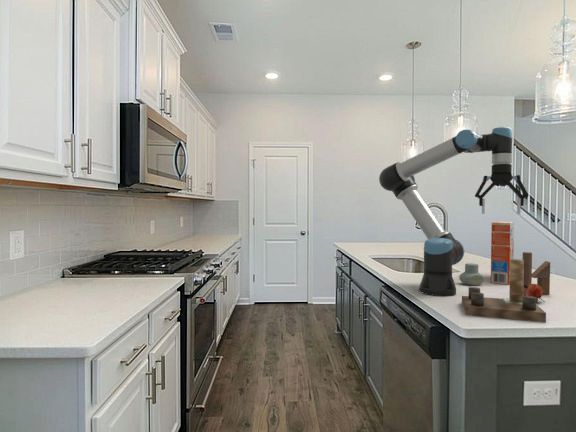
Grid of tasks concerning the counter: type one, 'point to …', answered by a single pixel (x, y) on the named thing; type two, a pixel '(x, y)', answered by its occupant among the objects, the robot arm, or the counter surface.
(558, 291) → the counter surface
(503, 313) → the wooden board with knobs
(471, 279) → the air freshener
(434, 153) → the robot arm
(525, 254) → the brown wooden angled piece
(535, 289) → the pomegranate
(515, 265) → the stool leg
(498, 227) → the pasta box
